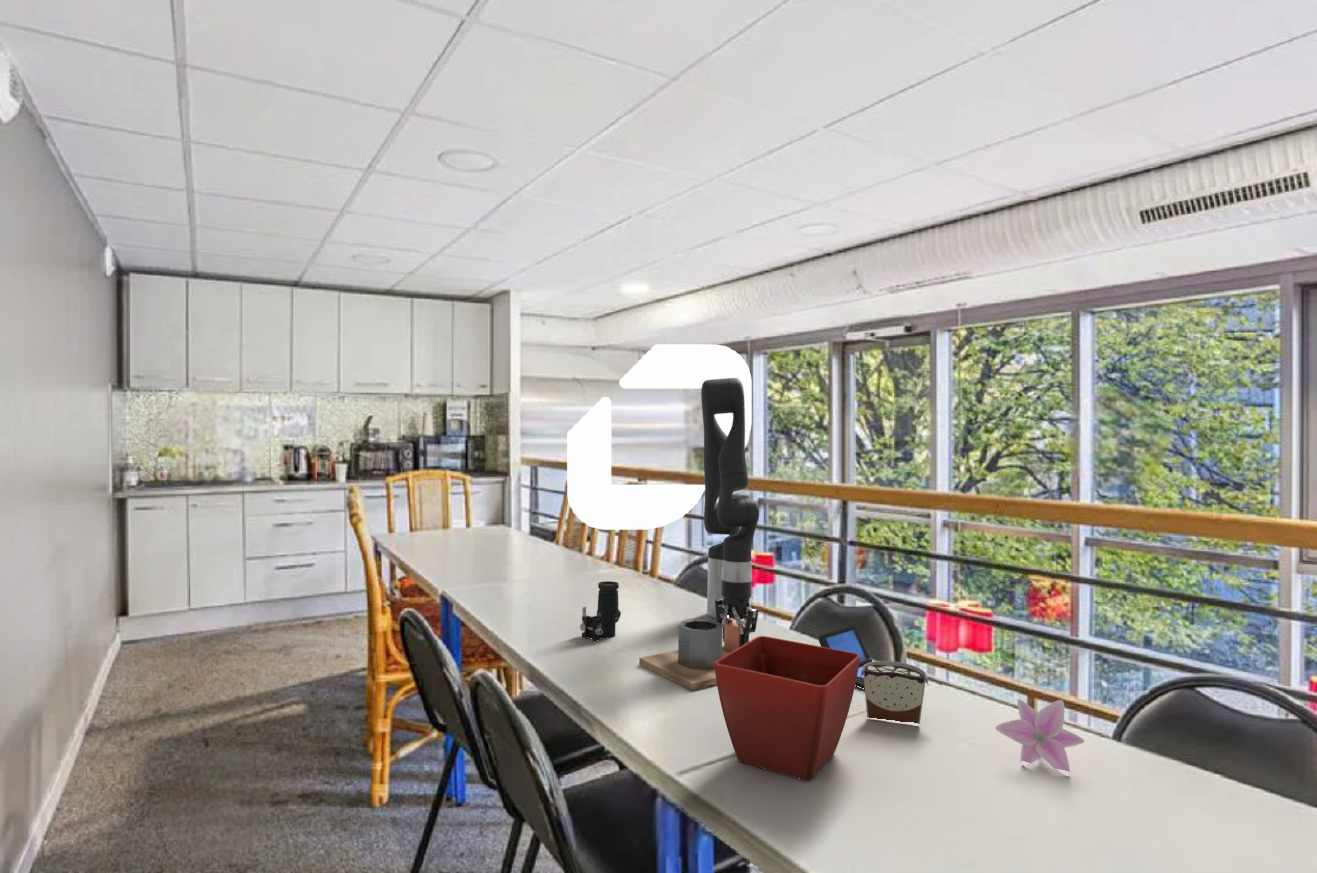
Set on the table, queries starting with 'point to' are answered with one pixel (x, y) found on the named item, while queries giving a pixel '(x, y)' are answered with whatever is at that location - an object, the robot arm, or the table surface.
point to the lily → (1041, 734)
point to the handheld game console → (847, 646)
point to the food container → (894, 690)
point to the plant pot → (786, 703)
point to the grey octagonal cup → (699, 644)
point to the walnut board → (679, 670)
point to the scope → (602, 613)
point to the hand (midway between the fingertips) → (735, 645)
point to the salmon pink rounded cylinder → (732, 636)
